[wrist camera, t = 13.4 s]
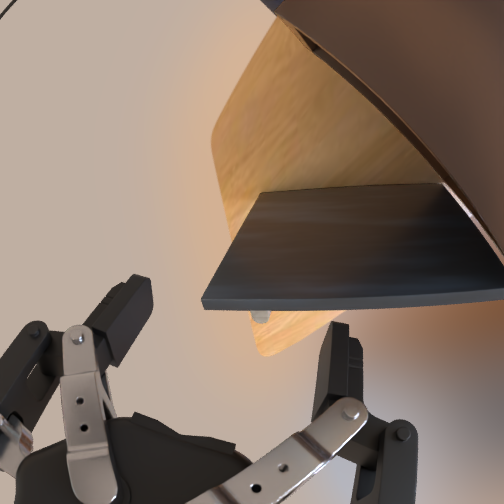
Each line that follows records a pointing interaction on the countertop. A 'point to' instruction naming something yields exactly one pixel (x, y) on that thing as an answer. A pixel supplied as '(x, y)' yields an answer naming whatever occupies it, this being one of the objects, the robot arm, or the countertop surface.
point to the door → (355, 253)
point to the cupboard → (425, 81)
